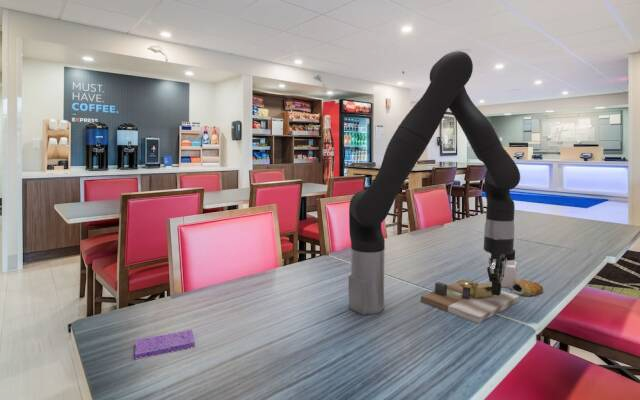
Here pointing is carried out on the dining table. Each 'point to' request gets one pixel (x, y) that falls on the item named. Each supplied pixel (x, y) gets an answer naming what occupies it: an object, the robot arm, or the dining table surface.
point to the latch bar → (477, 288)
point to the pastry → (526, 288)
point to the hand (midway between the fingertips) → (495, 294)
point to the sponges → (164, 343)
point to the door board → (467, 302)
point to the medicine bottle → (509, 271)
